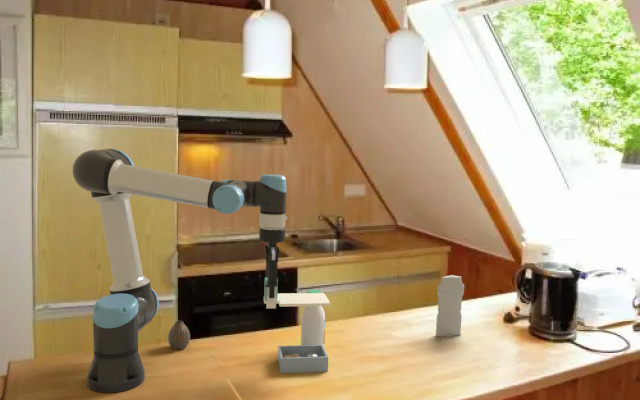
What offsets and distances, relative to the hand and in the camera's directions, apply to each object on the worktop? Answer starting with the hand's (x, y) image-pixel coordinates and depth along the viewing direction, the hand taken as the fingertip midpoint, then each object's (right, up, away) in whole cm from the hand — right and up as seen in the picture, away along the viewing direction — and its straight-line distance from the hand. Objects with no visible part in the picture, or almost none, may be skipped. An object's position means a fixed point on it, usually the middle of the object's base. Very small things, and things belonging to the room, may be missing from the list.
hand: (270, 305), depth 168 cm
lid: (+8, +1, +1) cm, 8 cm away
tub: (+9, -20, +4) cm, 22 cm away
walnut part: (+6, -19, +3) cm, 20 cm away
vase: (-31, -17, +16) cm, 39 cm away
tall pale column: (+61, -18, +36) cm, 73 cm away
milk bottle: (+12, -18, +17) cm, 28 cm away
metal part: (+12, -19, +5) cm, 23 cm away
